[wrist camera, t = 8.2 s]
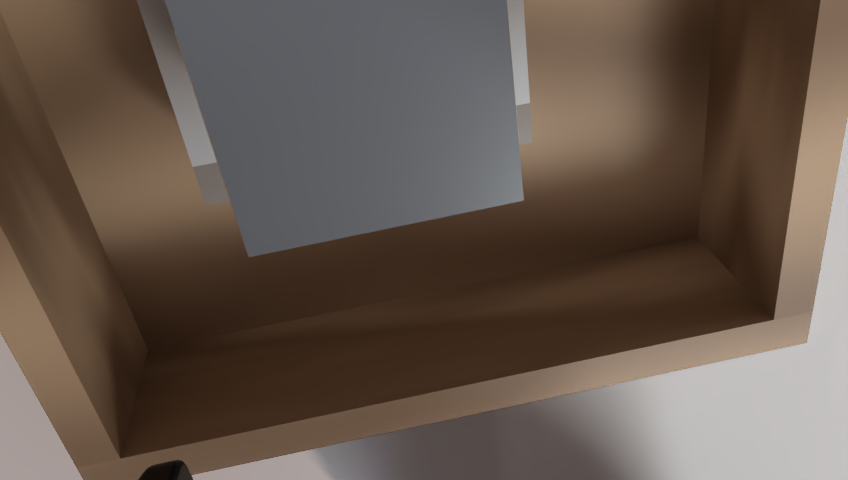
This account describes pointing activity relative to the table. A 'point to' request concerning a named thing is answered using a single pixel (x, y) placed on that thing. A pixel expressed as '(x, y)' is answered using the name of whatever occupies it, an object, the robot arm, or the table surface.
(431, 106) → the grey rectangular block
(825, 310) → the table surface
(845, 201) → the table surface
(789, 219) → the walled box
